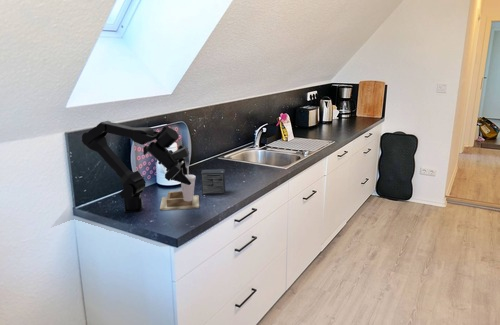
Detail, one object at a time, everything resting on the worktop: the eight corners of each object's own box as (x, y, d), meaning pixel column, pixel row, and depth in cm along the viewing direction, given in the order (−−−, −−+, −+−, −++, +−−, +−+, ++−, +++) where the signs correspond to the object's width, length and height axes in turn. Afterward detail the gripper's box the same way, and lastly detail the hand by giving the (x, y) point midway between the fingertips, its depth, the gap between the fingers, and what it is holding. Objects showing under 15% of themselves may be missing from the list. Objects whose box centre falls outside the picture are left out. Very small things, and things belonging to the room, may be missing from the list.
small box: (225, 190, 192) (224, 168, 189) (225, 194, 185) (224, 172, 183) (203, 190, 191) (202, 169, 189) (201, 195, 185) (200, 173, 182)
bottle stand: (159, 210, 167) (159, 201, 166) (162, 198, 181) (161, 190, 180) (199, 208, 169) (198, 199, 168) (198, 196, 183) (198, 188, 182)
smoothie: (197, 197, 167) (197, 164, 163) (194, 202, 160) (193, 168, 157) (182, 196, 167) (181, 163, 163) (178, 202, 161) (177, 168, 157)
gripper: (172, 145, 148) (203, 174, 151) (179, 135, 166) (207, 161, 169) (151, 166, 150) (182, 194, 153) (161, 154, 168) (188, 179, 171)
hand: (191, 181), depth 162 cm, fingers closed on smoothie, 6 cm apart
